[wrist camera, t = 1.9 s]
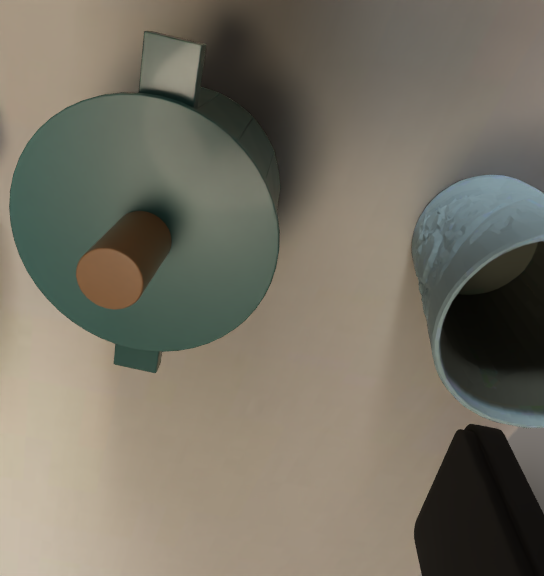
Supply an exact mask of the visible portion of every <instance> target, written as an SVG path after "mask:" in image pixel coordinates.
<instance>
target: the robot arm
mask: <svg viewBox="0 0 544 576" xmlns="http://www.w3.org/2000/svg"><path fill="white" fill-rule="evenodd" d="M414 539H415V545H416V549H417V554H418V559H419V564H420V568H421V573H422V576H544V514H543V512H542V510H541V508H540V506H539V504H538V502H537V500H536V498H535V496H534V494H533V492H532V490H531V488H530V486H529V484H528V482H527V480H526V478H525V475H524V474H523V472H522V470H521V467H520V466H519V464H518V462H517V460H516V458H515V455H514V453H513V451H512V449H511V447H510V445H509V443H508V441H507V439H506V437H505V435H504V434H503V432H502V431H501V430H499V429H496V428H491V427H485V426H480V425H475V424H469V425H468V426H467V427H466V428H465V430H461V429H460V430H458V431H456V433H455V435H454V437H453V439H452V442H451V444H450V446H449V448H448V451H447V453H446V455H445V457H444V459H443V462H442V464H441V466H440V468H439V471H438V473H437V475H436V477H435V480H434V482H433V484H432V486H431V489H430V491H429V493H428V495H427V497H426V500H425V502H424V504H423V506H422V509H421V511H420V513H419V515H418V518H417V520H416V523H415V528H414Z"/></svg>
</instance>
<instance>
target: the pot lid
mask: <svg viewBox="0 0 544 576" xmlns="http://www.w3.org/2000/svg"><path fill="white" fill-rule="evenodd" d="M9 209H10V221H11V227H12V232H13V237H14V241H15V244H16V247H17V249H18V252H19V255H20V257H21V259H22V262H23V264H24V266H25V268H26V270H27V272H28V273H29V275H30V276H31V278H32V279H33V281H34V283H35V284H36V286H37V287H38V288H39V289H40V291H41V292H42V293H43V294H44V296H45V297H46V298H47V299H48V300H49V301H50V302H51V303H52V304H53V305H54V306H55V307H56V308H57V309H58V310H59V311H60V312H61V313H62V314H64V315H65V316H66V317H67V318H69V319H70V320H71V321H72V322H74V323H75V324H77V325H78V326H80V327H82V328H83V329H85V330H86V331H88V332H90V333H92V334H94V335H96V336H98V337H100V338H102V339H105V340H107V341H110V342H112V343H115V344H118V345H122V346H125V347H129V348H133V349H139V350H146V351H161V352H164V351H179V350H185V349H190V348H195V347H198V346H201V345H204V344H208V343H210V342H212V341H214V340H217V339H219V338H221V337H223V336H224V335H226V334H228V333H229V332H231V331H232V330H234V329H235V328H236V327H238V326H239V325H240V324H241V323H243V322H244V321H245V320H246V319H247V318H248V317H249V316H250V315H251V314H252V312H253V311H254V310H255V309H256V308H257V306H258V305H259V303H260V302H261V301H262V299H263V298H264V296H265V294H266V292H267V290H268V288H269V286H270V284H271V282H272V278H273V275H274V272H275V269H276V265H277V259H278V253H279V238H280V230H279V221H278V213H277V209H276V205H275V202H274V198H273V195H272V192H271V190H270V187H269V185H268V182H267V180H266V178H265V176H264V175H263V173H262V171H261V169H260V167H259V166H258V164H257V162H256V161H255V160H254V158H253V157H252V156H251V154H250V153H249V152H248V150H247V149H246V148H245V147H244V146H243V144H242V143H241V142H240V141H239V140H238V139H237V138H236V137H235V136H234V135H233V134H232V133H231V132H229V131H228V130H227V129H226V128H225V127H223V126H222V125H221V124H220V123H218V122H217V121H216V120H214V119H213V118H211V117H209V116H208V115H206V114H205V113H203V112H201V111H200V110H198V109H195V108H193V107H191V106H189V105H187V104H185V103H182V102H180V101H176V100H173V99H170V98H167V97H163V96H159V95H153V94H147V93H131V92H121V93H113V94H104V95H101V96H97V97H93V98H90V99H86V100H83V101H80V102H78V103H76V104H74V105H71V106H69V107H67V108H65V109H64V110H62V111H61V112H59V113H58V114H56V115H54V116H53V117H51V118H50V119H49V120H48V121H47V122H46V123H45V124H44V125H43V126H42V127H40V128H39V129H38V130H37V132H36V133H35V134H34V136H33V137H32V138H31V139H30V141H29V142H28V143H27V145H26V147H25V149H24V150H23V152H22V154H21V156H20V158H19V160H18V163H17V166H16V169H15V171H14V174H13V179H12V184H11V189H10V204H9Z"/></svg>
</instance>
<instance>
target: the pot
mask: <svg viewBox="0 0 544 576" xmlns="http://www.w3.org/2000/svg"><path fill="white" fill-rule="evenodd" d="M205 51H206V44H203V43H199V42H195V41H191V40H186V39H182V38H178V37H174V36H170V35H166V34H162V33H158V32H153V31H145V32H144V41H143V52H142V63H141V73H140V84H139V93H147V94H153V95H159V96H163V97H167V98H170V99H173V100H176V101H180V102H182V103H185V104H187V105H189V106H191V107H193V108H195V109H198V110H200V111H201V112H203V113H205V114H206V115H208V116H209V117H211V118H213V119H214V120H216V121H217V122H218V123H220V124H221V125H222V126H223V127H225V128H226V129H227V130H228V131H229V132H231V133H232V134H233V135H234V136H235V137H236V138H237V139H238V140H239V141H240V142H241V143H242V144H243V146H244V147H245V148H246V149H247V150H248V152H249V153H250V154H251V156H252V157H253V158H254V160H255V161H256V162H257V164H258V166H259V167H260V169H261V171H262V173H263V175H264V176H265V178H266V180H267V182H268V185H269V187H270V190H271V192H272V195H273V198H274V202H275V205H276V209H277V205H278V200H279V195H280V189H281V185H280V179H279V170H278V164H277V160H276V156H275V151H274V149H273V147H272V145H271V143H270V141H269V139H268V137H267V136H266V134H265V132H264V131H263V129H262V128H261V126H260V125H259V124H258V122H257V121H256V120H255V119H254V118H253V116H252V115H250V113H249V112H247V111H246V110H245V109H244V108H243V107H241V106H240V105H239V104H238V103H236V102H235V101H233V100H231V99H230V98H228V97H226V96H224V95H223V94H220V93H219V92H216V91H213V90H209V89H206V88H203V87H200V86H201V79H202V72H203V65H204V58H205ZM161 356H162V352H161V351H146V350H139V349H133V348H129V347H125V346H122V345H118V344H115V354H114V364H115V365H120V366H124V367H129V368H134V369H138V370H143V371H147V372H152V373H156V372H157V370H158V368H159V365H160V363H161Z"/></svg>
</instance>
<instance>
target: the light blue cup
mask: <svg viewBox="0 0 544 576" xmlns="http://www.w3.org/2000/svg"><path fill="white" fill-rule="evenodd" d="M412 257H413V262H414V267H415V271H416V276H417V277H418V280H419V290H420V293H421V295H422V299H421V300H422V302H423V309H424V314H425V316H426V319H427V326H428V333H429V338H430V343H431V348H432V355H433V359H434V364H435V367H436V370H437V373H438V375H439V377H440V379H441V380H442V382H443V384H444V385H445V387H446V388H447V389H448V390H449V392H450V393H451V394H452V395H453V396H454V397H455V398H456V399H457V400H458V401H459V402H460V403H461V404H462V405H463V406H464V407H466V408H468V409H469V410H471V411H473V412H474V413H476V414H478V415H479V416H481V417H484V418H486V419H489V420H492V421H494V422H498V423H503V424H508V425H513V426H518V427H523V428H544V193H542V192H541V191H539V190H538V189H536V188H534V187H532V186H530V185H529V184H527V183H525V182H523V181H520V180H518V179H515V178H512V177H508V176H503V175H482V176H476V177H472V178H468V179H465V180H462V181H459V182H457V183H455V184H453V185H451V186H450V187H448V188H447V189H445V190H443V191H442V192H441V193H440V194H438V195H437V196H436V197H435V198H434V199H433V200H432V201H431V202H430V203H429V204H428V205H427V207H426V208H425V209H424V211H423V213H422V214H421V216H420V218H419V220H418V222H417V224H416V227H415V230H414V233H413V239H412Z"/></svg>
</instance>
